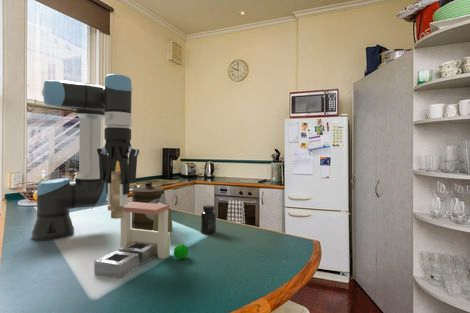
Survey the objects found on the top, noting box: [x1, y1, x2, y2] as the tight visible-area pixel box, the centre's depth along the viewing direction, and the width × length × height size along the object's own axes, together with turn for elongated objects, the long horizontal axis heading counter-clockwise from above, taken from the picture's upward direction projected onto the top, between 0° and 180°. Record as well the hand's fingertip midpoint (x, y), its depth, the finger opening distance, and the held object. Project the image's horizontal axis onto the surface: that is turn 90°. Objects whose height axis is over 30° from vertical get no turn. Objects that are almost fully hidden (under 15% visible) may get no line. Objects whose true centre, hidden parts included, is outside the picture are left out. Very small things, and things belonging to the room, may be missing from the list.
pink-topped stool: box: [107, 201, 171, 260], centre depth 100 cm, size 18×10×18 cm, turn 74°
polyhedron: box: [173, 243, 189, 260], centre depth 99 cm, size 5×5×5 cm
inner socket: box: [118, 241, 158, 265], centre depth 99 cm, size 9×9×4 cm
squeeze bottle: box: [153, 193, 174, 235], centre depth 122 cm, size 8×8×18 cm
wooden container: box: [131, 180, 165, 231], centre depth 137 cm, size 15×15×22 cm
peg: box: [110, 170, 124, 220], centre depth 88 cm, size 4×4×14 cm
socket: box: [93, 250, 140, 279], centre depth 89 cm, size 9×9×4 cm
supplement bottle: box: [200, 204, 217, 236], centre depth 130 cm, size 7×7×12 cm
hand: (117, 204), depth 88 cm, fingers closed on peg, 3 cm apart
